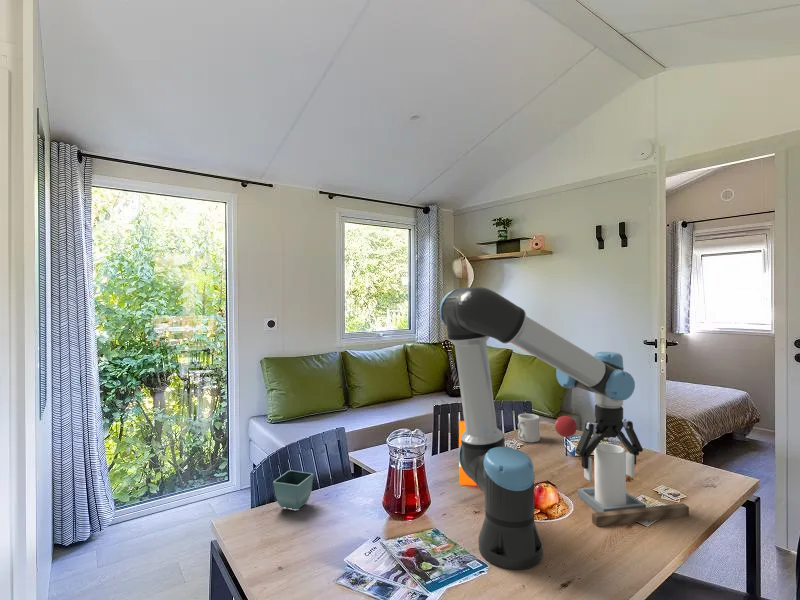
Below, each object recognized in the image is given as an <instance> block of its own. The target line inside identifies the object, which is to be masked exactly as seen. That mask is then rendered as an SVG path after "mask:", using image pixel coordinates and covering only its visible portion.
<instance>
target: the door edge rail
mask: <svg viewBox="0 0 800 600" xmlns="http://www.w3.org/2000/svg"><path fill="white" fill-rule="evenodd" d="M688 516H690V507H689V506H688V505H687V504H684V503H674V504H664V505H656V506H648V507H647V506H646V507H645V508H636V509H626V510H617V511H608V512H599V513H597V512H592V513H591V523H592V524H594V525H595V526H596V527H601V526H608V525H609V526H611V525H618V524H627V523H636V522H646V521H645V520H647V521H655V520H662V519H671V518H680V517H681V518H682V517H688Z"/></svg>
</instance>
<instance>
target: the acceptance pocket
mask: <svg viewBox="0 0 800 600" xmlns="http://www.w3.org/2000/svg"><path fill="white" fill-rule="evenodd" d="M576 492H577V498H579V499H580V500H581V501H582V502H584V503H585V504H586V505H587V506H588V507H589V508H591V509H592V510H594V511H595V513H599V512H608V511H617V510H626V509H636V508H645V507H647V504H645V503H644V502H643V501H641V500H640V499H638V498H636V497H635V496H633V494H631V493H629V492H627V491H626V505H621V506H611V507H604V506H603V505H601V504H600V503H599V502H597V501H596V500H595V486H591V487H581V488H577V491H576Z"/></svg>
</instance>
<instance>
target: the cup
mask: <svg viewBox="0 0 800 600" xmlns="http://www.w3.org/2000/svg"><path fill="white" fill-rule="evenodd" d="M593 461H594V462H593V463H594V470H593V471H594V473H593V474H594V487H595V500H596V501H597V502H599V503H600V504H601V505H603V506H604V507H611V506H621V505H626V492H627V489H626V487H627V485H626V480H627V479H626V475H627V474H626V448H625V447H623V446H620V445H616V444H612V443H599V444H598V445H597V447H596V448H595V450H594V451H593Z"/></svg>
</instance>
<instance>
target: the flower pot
mask: <svg viewBox="0 0 800 600" xmlns="http://www.w3.org/2000/svg"><path fill="white" fill-rule="evenodd" d="M313 480H314V473H311V472H303V471H297V470H291V469H290V470H287V471H286V472H285V473H283V474H282V475H280V476H279V477H278V478H276V479H275V480H272V484H273V490H274V495H275V499H276V501H277V504H278V505H279V506H280V508H281V507H286V508H292V509H299V508H300V507H301V506H302V505H303V504H305V503H306V504H307V502H308V500H309V499H310V497H311V494H312V488H313V483H314V481H313ZM306 504H305V505H306ZM300 509H301V508H300ZM300 509H299V510H300Z"/></svg>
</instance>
